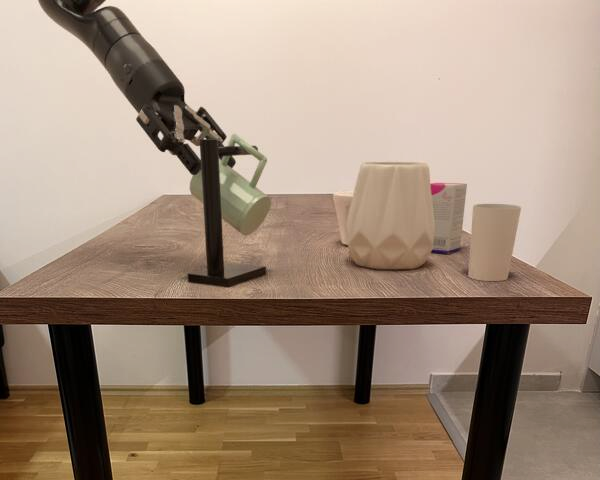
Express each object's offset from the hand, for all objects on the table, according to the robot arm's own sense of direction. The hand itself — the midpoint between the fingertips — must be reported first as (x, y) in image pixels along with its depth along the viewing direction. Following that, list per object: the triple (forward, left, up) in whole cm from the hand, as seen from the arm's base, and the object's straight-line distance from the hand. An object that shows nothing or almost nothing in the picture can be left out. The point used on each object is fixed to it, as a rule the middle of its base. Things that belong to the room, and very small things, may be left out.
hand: (215, 169), depth 91 cm
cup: (+29, -19, -15) cm, 38 cm away
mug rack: (-3, -3, -15) cm, 15 cm away
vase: (+11, -25, -15) cm, 31 cm away
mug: (-3, -7, -4) cm, 9 cm away
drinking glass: (+3, -40, -15) cm, 43 cm away
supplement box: (+25, -34, -15) cm, 45 cm away
